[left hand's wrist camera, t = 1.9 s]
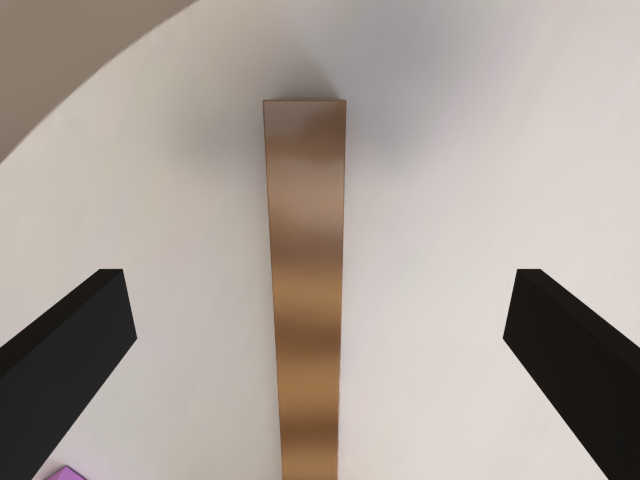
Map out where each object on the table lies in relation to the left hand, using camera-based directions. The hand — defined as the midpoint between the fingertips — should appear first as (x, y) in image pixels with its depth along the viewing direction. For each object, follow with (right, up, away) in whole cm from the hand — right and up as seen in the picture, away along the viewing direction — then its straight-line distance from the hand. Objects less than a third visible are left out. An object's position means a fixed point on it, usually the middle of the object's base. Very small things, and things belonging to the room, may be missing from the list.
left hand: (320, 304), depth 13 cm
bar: (-1, -12, +29) cm, 32 cm away
